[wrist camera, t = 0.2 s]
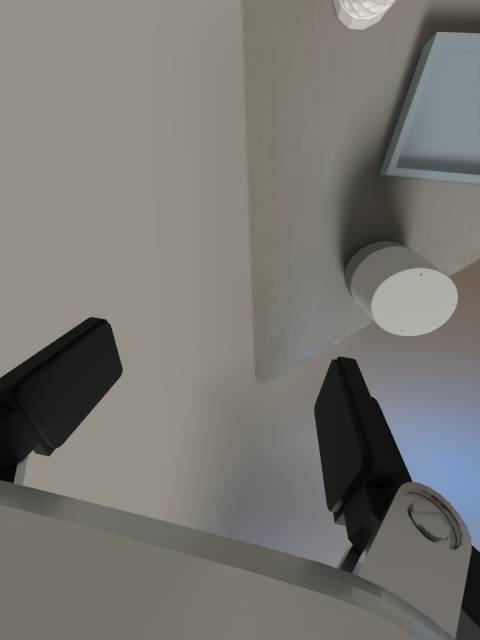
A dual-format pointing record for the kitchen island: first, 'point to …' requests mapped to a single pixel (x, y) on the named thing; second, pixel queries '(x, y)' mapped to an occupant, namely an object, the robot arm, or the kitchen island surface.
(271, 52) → the kitchen island surface
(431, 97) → the tray
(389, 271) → the smart speaker
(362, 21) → the white cup
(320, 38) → the kitchen island surface
